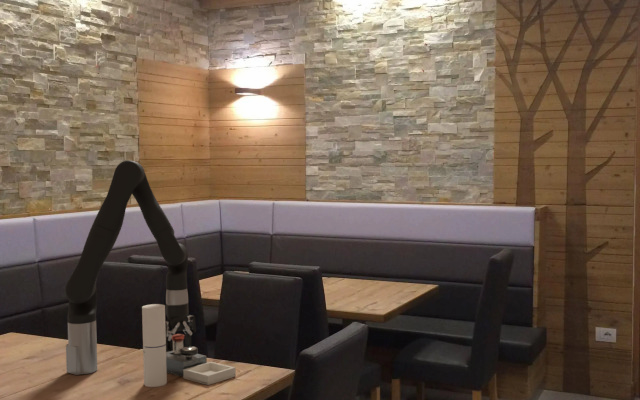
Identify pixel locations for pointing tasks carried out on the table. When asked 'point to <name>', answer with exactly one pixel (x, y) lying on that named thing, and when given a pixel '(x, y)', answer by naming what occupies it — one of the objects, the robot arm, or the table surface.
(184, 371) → the dish
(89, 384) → the table surface
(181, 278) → the robot arm
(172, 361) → the dark grey block
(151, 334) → the cylindrical container
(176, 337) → the pin
